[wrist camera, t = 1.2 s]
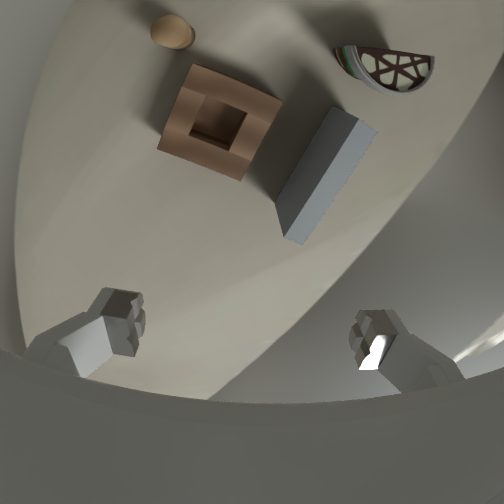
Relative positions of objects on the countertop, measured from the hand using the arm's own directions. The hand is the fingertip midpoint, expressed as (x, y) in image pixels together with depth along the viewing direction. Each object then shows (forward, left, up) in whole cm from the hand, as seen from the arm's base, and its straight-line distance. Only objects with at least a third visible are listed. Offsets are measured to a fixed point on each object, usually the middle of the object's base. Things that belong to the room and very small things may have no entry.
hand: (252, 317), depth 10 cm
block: (0, -3, -34) cm, 34 cm away
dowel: (-9, -13, -34) cm, 37 cm away
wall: (0, +12, -34) cm, 36 cm away
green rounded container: (-17, +12, -34) cm, 40 cm away
